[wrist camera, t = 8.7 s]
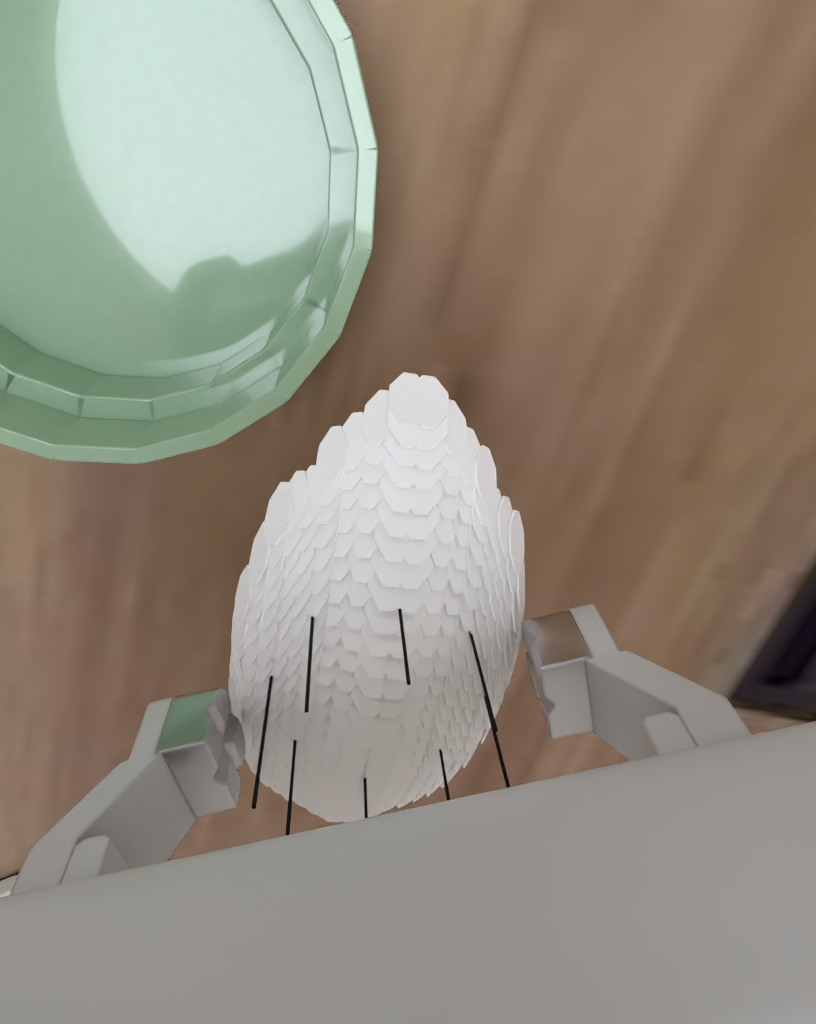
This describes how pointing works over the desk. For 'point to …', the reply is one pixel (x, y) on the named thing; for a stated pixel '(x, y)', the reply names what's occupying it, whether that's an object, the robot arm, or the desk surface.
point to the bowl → (173, 217)
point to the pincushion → (378, 611)
